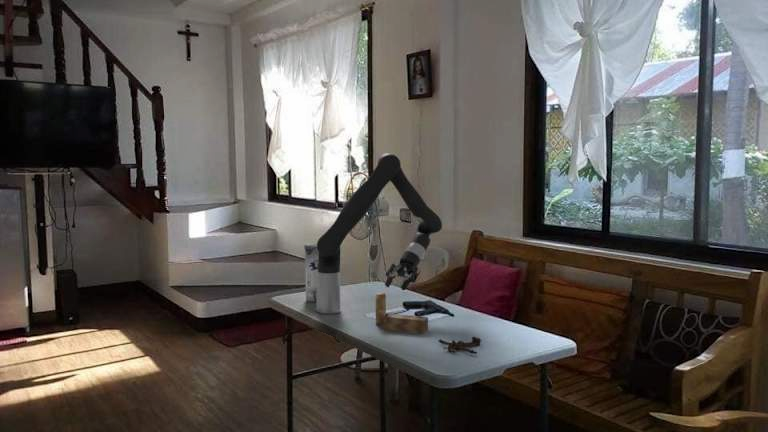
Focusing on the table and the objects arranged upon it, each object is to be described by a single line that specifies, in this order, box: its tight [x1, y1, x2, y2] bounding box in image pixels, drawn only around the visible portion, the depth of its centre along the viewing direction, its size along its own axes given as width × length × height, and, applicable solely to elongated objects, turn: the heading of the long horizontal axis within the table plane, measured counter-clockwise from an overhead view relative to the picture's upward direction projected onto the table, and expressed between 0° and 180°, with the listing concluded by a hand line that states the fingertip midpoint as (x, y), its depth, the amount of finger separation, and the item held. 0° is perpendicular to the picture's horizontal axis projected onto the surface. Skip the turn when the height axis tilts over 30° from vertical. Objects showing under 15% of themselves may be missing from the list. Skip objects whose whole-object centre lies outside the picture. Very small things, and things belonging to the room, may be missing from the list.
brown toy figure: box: [437, 336, 482, 355], centre depth 210 cm, size 18×4×14 cm
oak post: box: [374, 292, 387, 326], centre depth 240 cm, size 4×4×12 cm
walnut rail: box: [383, 312, 429, 335], centre depth 232 cm, size 16×5×5 cm, turn 67°
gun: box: [402, 299, 455, 317], centre depth 261 cm, size 24×3×15 cm
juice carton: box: [304, 243, 319, 303], centre depth 281 cm, size 9×10×27 cm
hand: (394, 287), depth 246 cm, fingers open, 8 cm apart
